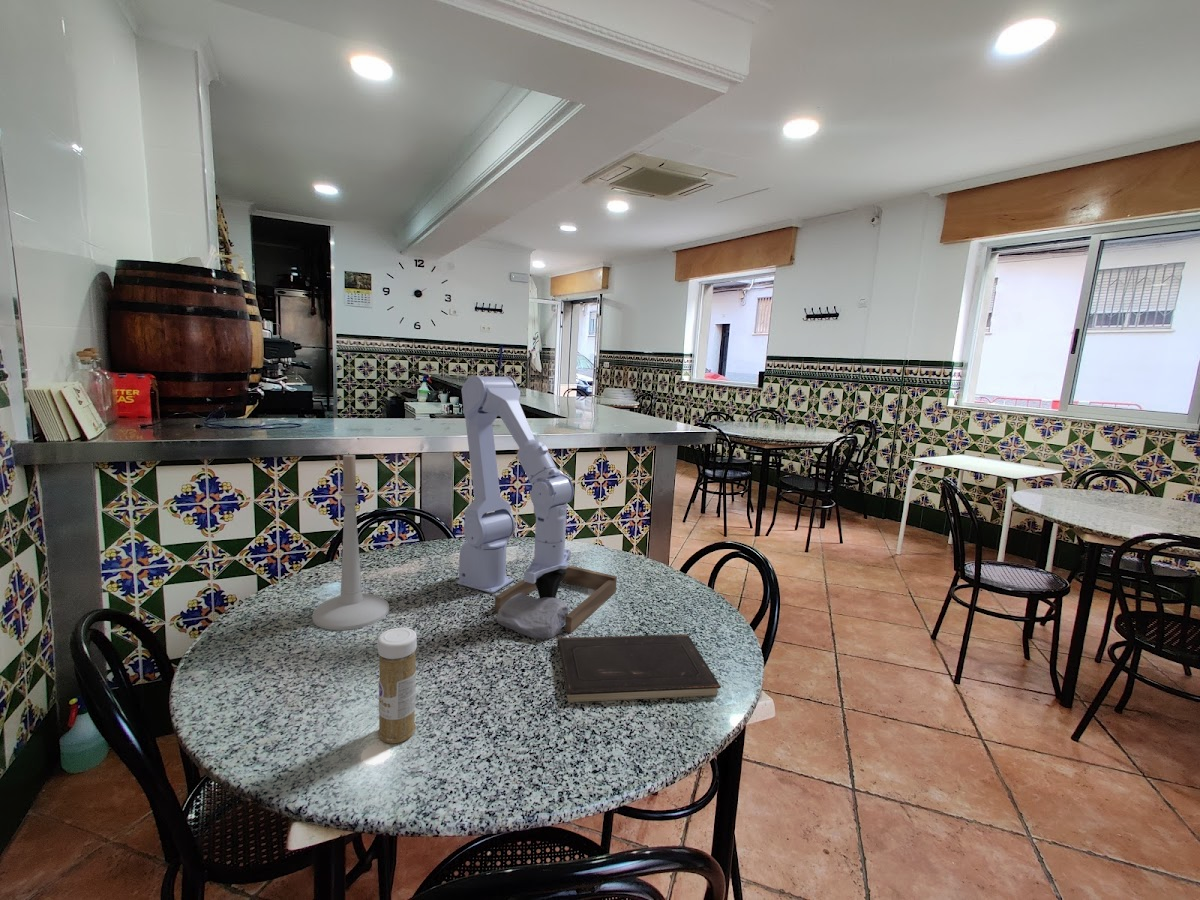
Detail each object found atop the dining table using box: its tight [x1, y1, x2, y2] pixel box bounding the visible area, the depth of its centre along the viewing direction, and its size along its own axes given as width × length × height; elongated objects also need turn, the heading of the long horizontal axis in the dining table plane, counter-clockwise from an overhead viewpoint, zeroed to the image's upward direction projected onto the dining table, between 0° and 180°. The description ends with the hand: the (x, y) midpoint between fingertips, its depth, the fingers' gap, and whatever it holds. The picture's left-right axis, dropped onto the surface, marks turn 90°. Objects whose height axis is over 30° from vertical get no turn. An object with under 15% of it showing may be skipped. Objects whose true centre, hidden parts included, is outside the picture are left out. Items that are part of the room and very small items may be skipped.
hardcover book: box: [556, 634, 722, 703], centre depth 87 cm, size 16×23×2 cm
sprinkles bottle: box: [377, 627, 418, 744], centre depth 68 cm, size 5×5×14 cm
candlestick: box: [311, 452, 390, 631], centre depth 97 cm, size 13×13×30 cm
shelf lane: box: [494, 564, 618, 634], centre depth 109 cm, size 16×21×4 cm
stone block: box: [496, 593, 569, 640], centre depth 99 cm, size 12×5×10 cm
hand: (547, 605), depth 105 cm, fingers closed
